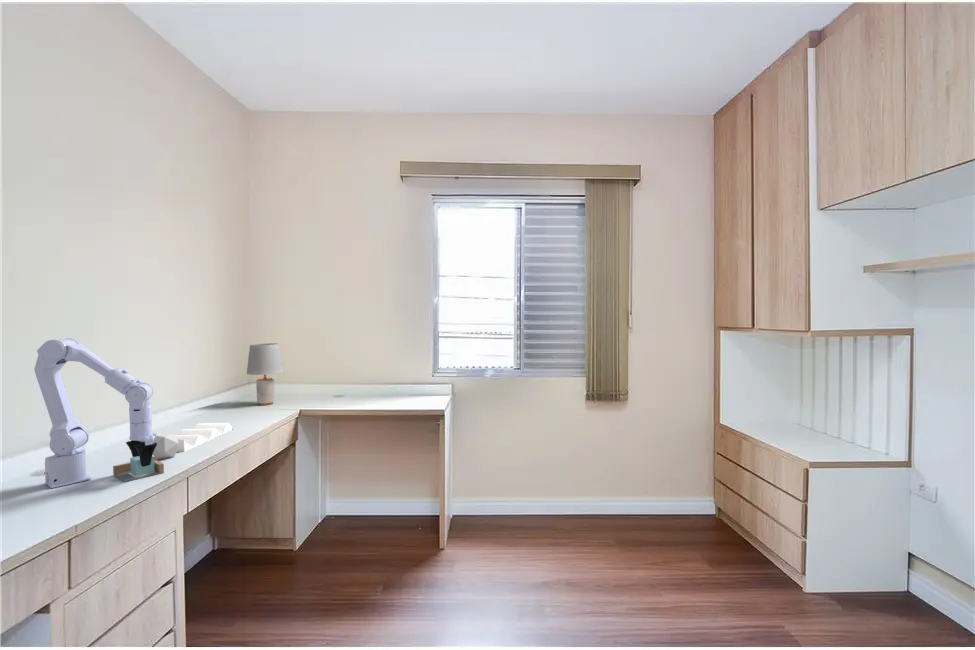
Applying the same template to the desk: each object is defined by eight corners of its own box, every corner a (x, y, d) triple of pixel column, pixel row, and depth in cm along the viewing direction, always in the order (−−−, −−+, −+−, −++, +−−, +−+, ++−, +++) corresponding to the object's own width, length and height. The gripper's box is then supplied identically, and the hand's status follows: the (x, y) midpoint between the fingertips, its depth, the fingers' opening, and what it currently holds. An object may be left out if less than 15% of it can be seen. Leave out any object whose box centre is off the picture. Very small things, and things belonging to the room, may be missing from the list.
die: (181, 454, 181) (163, 433, 180) (188, 445, 176) (170, 424, 175) (158, 468, 174) (140, 447, 173) (166, 460, 169) (147, 438, 168)
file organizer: (233, 430, 217) (233, 419, 217) (184, 453, 182) (183, 439, 182) (204, 431, 217) (203, 419, 217) (149, 454, 182) (148, 440, 182)
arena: (124, 482, 149) (124, 472, 149) (113, 475, 156) (113, 466, 156) (163, 472, 157) (163, 463, 157) (151, 466, 164) (151, 457, 164)
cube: (154, 472, 157) (154, 456, 157) (136, 476, 153) (135, 460, 153) (149, 469, 160) (148, 454, 160) (130, 473, 156) (130, 457, 156)
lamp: (290, 401, 284) (289, 343, 283) (271, 407, 266) (269, 345, 265) (261, 400, 288) (259, 343, 287) (240, 406, 269) (238, 345, 268)
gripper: (163, 422, 155) (165, 464, 155) (147, 416, 164) (148, 456, 164) (137, 426, 149) (139, 470, 150) (121, 420, 158) (123, 462, 158)
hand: (142, 463), depth 156 cm, fingers open, 6 cm apart
